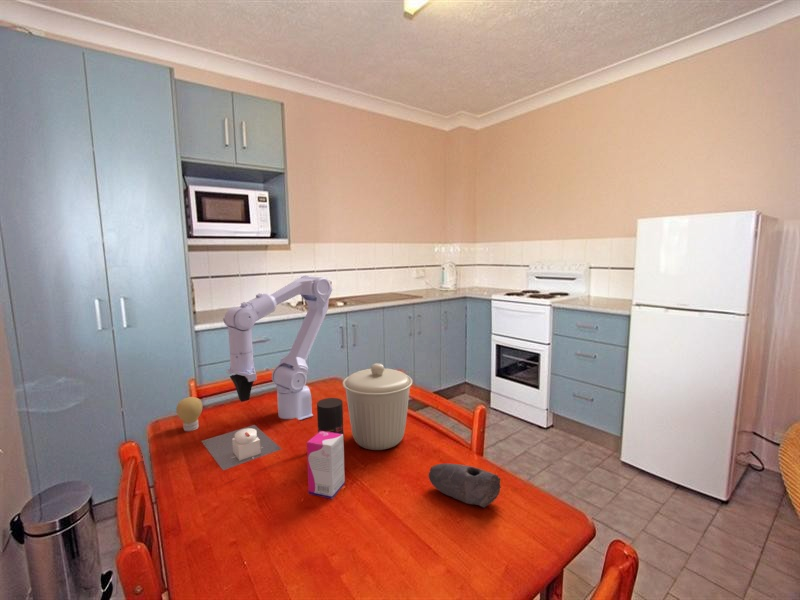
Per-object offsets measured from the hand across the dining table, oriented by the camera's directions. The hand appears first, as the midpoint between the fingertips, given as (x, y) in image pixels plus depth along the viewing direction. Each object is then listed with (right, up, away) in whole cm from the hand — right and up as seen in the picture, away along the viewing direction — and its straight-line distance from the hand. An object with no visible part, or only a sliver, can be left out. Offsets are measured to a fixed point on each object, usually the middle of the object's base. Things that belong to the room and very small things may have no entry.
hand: (244, 400), depth 105 cm
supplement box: (+27, -13, -23) cm, 38 cm away
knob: (+5, -10, -11) cm, 15 cm away
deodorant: (+26, -12, -13) cm, 31 cm away
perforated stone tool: (+55, -13, -26) cm, 62 cm away
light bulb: (-16, -10, +3) cm, 19 cm away
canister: (+37, -10, -2) cm, 38 cm away
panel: (+2, -11, -7) cm, 13 cm away
